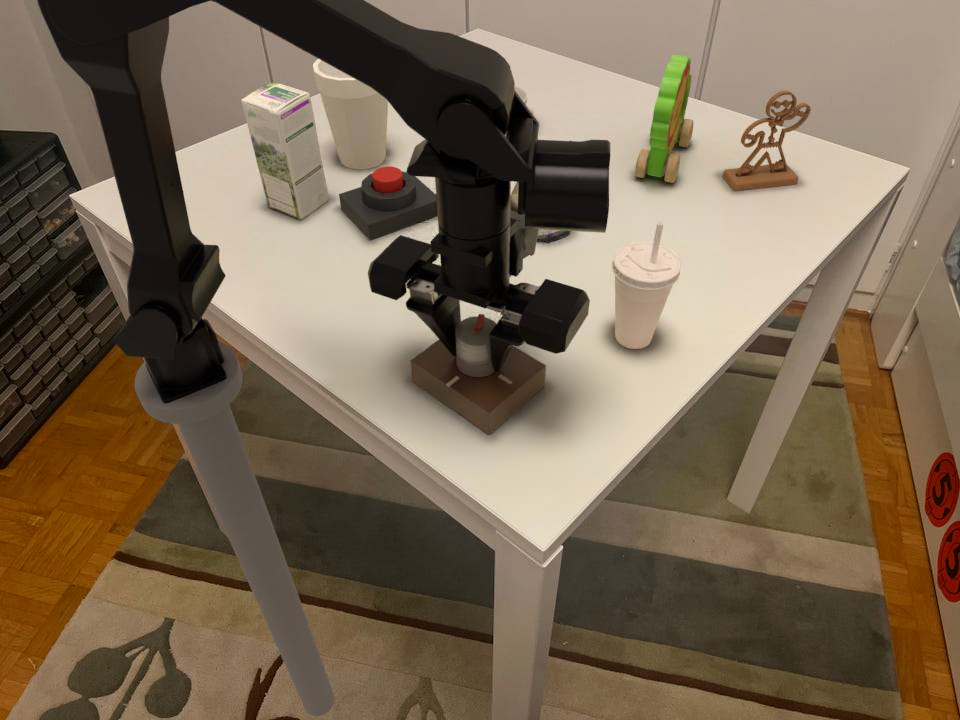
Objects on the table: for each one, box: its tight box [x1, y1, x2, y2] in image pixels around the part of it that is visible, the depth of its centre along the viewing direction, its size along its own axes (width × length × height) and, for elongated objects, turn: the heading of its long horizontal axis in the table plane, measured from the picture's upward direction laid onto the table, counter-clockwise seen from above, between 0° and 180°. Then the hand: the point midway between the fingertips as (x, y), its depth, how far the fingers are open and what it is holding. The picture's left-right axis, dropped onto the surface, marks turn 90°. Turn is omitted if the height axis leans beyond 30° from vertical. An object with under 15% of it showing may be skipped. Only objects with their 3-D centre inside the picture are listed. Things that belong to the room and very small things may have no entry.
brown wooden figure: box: [722, 90, 811, 192], centre depth 94 cm, size 9×4×12 cm, turn 101°
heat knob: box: [455, 313, 497, 377], centre depth 68 cm, size 4×4×4 cm
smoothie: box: [611, 221, 682, 350], centre depth 72 cm, size 6×6×14 cm
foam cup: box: [312, 58, 389, 170], centre depth 98 cm, size 10×9×13 cm
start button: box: [371, 165, 403, 193], centre depth 90 cm, size 4×4×2 cm
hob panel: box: [409, 339, 547, 435], centre depth 71 cm, size 10×8×3 cm
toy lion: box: [634, 54, 694, 184], centre depth 96 cm, size 16×5×15 cm, turn 158°
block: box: [338, 170, 438, 241], centre depth 92 cm, size 10×8×4 cm
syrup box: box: [240, 81, 330, 220], centre depth 90 cm, size 6×6×14 cm
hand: (478, 360), depth 70 cm, fingers closed on heat knob, 4 cm apart
